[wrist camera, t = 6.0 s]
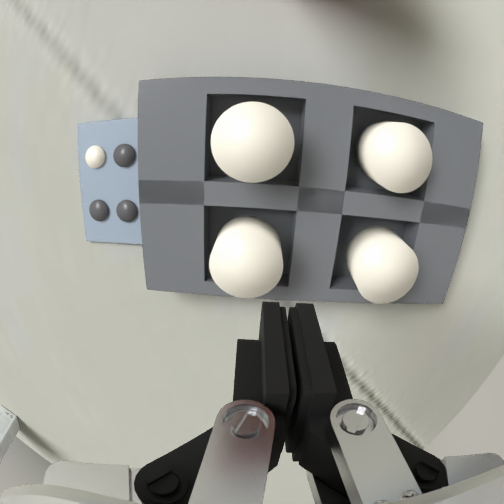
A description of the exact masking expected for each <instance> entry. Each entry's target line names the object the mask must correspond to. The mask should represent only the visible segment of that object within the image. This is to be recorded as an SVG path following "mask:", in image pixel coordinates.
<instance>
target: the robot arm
mask: <svg viewBox="0 0 504 504" xmlns="http://www.w3.org/2000/svg"><path fill="white" fill-rule="evenodd" d="M284 442H285V446H286V452H287V453H292V458H293V461H299V465H300V466H302V467H303V468H304V469H306V470H307V478H308V482H309V485H310V488H311V492H312V495H313V498H314V501H315V504H504V460H503V459H502V458H501V457H500V456H499V455H497V454H494V453H486V454H475V455H464V456H450V457H444V459H442V460H440V459H438V458H437V457H435V456H434V455H432V454H430V453H428V452H426V451H424V450H422V449H420V448H418V447H416V446H414V445H412V444H410V443H409V442H407V441H405V440H403V439H401V438H399V437H397V436H395V435H394V434H392V433H391V432H390V430H389V428H388V427H387V425H386V423H385V421H384V419H383V417H382V415H381V414H380V412H379V411H378V410H377V408H376V407H374V406H373V405H372V404H370V403H368V402H366V401H364V400H358V399H353V398H352V394H351V391H350V388H349V384H348V381H347V378H346V374H345V371H344V368H343V365H342V361H341V358H340V355H339V352H338V349H337V346H336V344H335V343H334V342H324V341H323V337H322V334H321V330H320V326H319V323H318V319H317V316H316V312H315V309H314V305H313V304H305V303H296V305H295V307H290V308H289V313H288V320H287V315H286V308H285V307H280V305H279V302H262V310H261V321H260V331H259V340H245V339H238V340H237V353H236V367H235V380H234V394H233V402H230V403H228V404H226V405H225V406H224V407H223V408H221V409H220V411H219V413H218V415H217V417H216V420H215V423H214V426H213V427H212V428H211V429H209V430H207V431H206V432H204V433H202V434H201V435H199V436H197V437H196V438H194V439H192V440H191V441H189V442H187V443H185V444H184V445H182V446H180V447H178V448H177V449H175V450H173V451H171V452H169V453H168V454H166V455H164V456H162V457H160V458H158V459H156V460H154V461H153V462H151V463H149V464H147V465H145V466H144V467H143V468H130V467H129V465H109V464H94V463H82V462H73V461H58V462H55V463H53V464H51V466H49V467H48V468H47V470H46V473H45V475H44V482H43V484H26V485H18V486H13V487H10V488H8V489H6V490H5V491H3V492H2V493H1V494H0V504H262V503H263V498H264V492H265V486H266V480H267V474H268V472H270V471H271V470H272V469H273V468H274V467H276V466H277V465H278V461H279V458H280V454H281V452H282V449H283V446H284Z"/></svg>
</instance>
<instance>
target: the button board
mask: <svg viewBox="0 0 504 504" xmlns="http://www.w3.org/2000/svg"><path fill="white" fill-rule="evenodd" d="M243 102H261V103H265V104H268V105H270V106H272V107H274V108H276V109H277V110H279V111H280V112H281V113H282V114H283V115H284V116H285V117H286V119H287V120H288V121H289V123H290V125H291V127H292V130H293V134H294V151H293V154H292V157H291V159H290V161H289V163H288V165H287V166H286V167H285V169H284V170H283V171H282V172H281V173H279V174H278V175H277V176H275V177H273V178H271V179H269V180H267V181H263V182H257V183H248V182H242V181H239V180H236V179H234V178H232V177H230V176H229V175H227V174H226V173H225V172H224V171H223V170H222V169H221V168H220V167H219V166H218V164H217V163H216V161H215V159H214V157H213V154H212V150H211V134H212V130H213V127H214V125H215V123H216V121H217V120H218V118H219V117H220V116H221V115H222V114H223V113H224V112H225V111H226V110H228V109H229V108H231V107H232V106H235V105H237V104H240V103H243ZM380 121H389V122H402V123H408V124H411V125H413V126H415V127H417V128H418V129H419V130H420V131H422V133H423V134H424V135H425V136H426V138H427V139H428V141H429V143H430V146H431V150H432V159H433V160H432V167H431V171H430V173H429V176H428V177H427V179H426V181H425V182H424V183H423V184H422V185H421V186H420V187H419V188H417V189H415V190H414V191H411V192H408V193H395V192H392V191H389V190H387V189H386V188H384V187H383V186H381V185H379V184H378V183H376V182H375V181H373V180H371V179H370V178H368V177H367V176H366V175H365V174H364V173H363V172H362V170H361V169H360V167H359V165H358V162H357V158H356V144H357V141H358V138H359V136H360V134H361V133H362V131H363V130H364V129H365V128H366V127H368V126H369V125H371V124H373V123H375V122H380ZM482 131H483V123H482V122H479V121H477V120H474V119H471V118H468V117H465V116H462V115H459V114H456V113H453V112H450V111H447V110H443V109H440V108H437V107H433V106H430V105H426V104H422V103H418V102H415V101H411V100H407V99H403V98H398V97H394V96H390V95H385V94H380V93H375V92H370V91H365V90H360V89H354V88H348V87H342V86H335V85H328V84H321V83H312V82H304V81H294V80H282V79H268V78H249V77H185V78H166V79H152V80H141V81H139V92H138V118H130V119H117V120H106V121H97V122H88V123H80V124H78V154H79V173H80V186H81V198H82V208H83V217H84V225H85V232H86V240H87V241H95V242H111V243H127V244H142V247H143V258H144V268H145V277H146V285H147V289H148V290H158V291H169V292H180V293H192V294H204V295H217V296H231V297H235V296H232V295H230V294H228V293H226V292H225V291H223V290H222V289H221V288H219V286H218V285H217V284H216V283H215V282H214V280H213V278H212V276H211V273H210V269H209V259H210V255H211V252H212V249H213V247H214V244H215V242H216V239H217V236H218V234H219V232H220V230H221V229H222V227H223V226H224V225H225V224H226V223H228V222H229V221H230V220H232V219H234V218H237V217H241V216H255V217H259V218H261V219H264V220H265V221H267V222H268V223H270V224H271V225H272V226H273V227H274V228H275V230H276V231H277V233H278V235H279V238H280V242H281V250H282V258H283V272H282V276H281V278H280V280H279V282H278V283H277V285H276V286H275V287H274V288H273V289H272V290H271V291H269V292H268V293H266V294H264V295H262V296H259V297H255V298H262V299H279V300H299V301H323V302H353V303H373V302H370V301H368V300H366V299H365V298H364V297H363V296H362V295H361V294H360V292H359V290H358V288H357V286H356V284H355V282H354V280H353V278H352V276H351V274H350V272H349V270H348V268H347V265H346V251H347V248H348V245H349V243H350V242H351V240H352V239H353V238H354V237H355V235H357V234H358V233H359V232H360V231H362V230H364V229H366V228H368V227H372V226H384V227H387V228H389V229H391V230H393V231H394V232H395V233H396V234H397V235H398V236H399V237H400V238H401V239H402V240H403V241H404V242H405V243H406V244H407V245H408V246H409V247H410V248H411V249H412V250H413V251H414V253H415V254H416V256H417V259H418V264H419V270H418V275H417V278H416V281H415V283H414V285H413V286H412V288H411V289H410V290H409V291H408V292H407V293H406V294H405V295H404V296H403V297H401V298H400V299H398V300H396V301H393V302H390V303H412V304H439V303H443V301H444V299H445V296H446V293H447V290H448V287H449V284H450V281H451V278H452V275H453V272H454V269H455V265H456V262H457V259H458V255H459V252H460V248H461V245H462V241H463V237H464V233H465V229H466V225H467V221H468V217H469V212H470V208H471V203H472V198H473V193H474V188H475V182H476V177H477V170H478V164H479V157H480V149H481V141H482Z"/></svg>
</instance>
